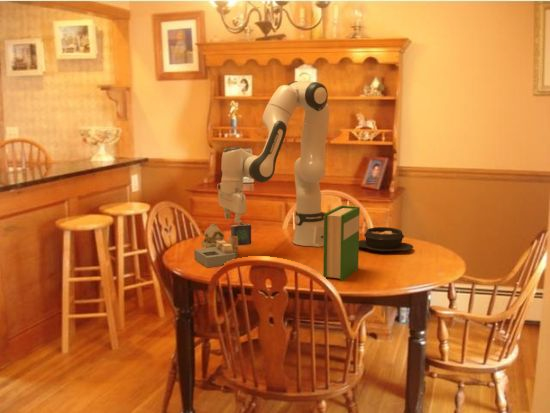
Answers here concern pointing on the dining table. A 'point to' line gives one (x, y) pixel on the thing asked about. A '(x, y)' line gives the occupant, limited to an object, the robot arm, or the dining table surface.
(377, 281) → the dining table surface
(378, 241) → the casserole
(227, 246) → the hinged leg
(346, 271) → the hardback book
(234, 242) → the loose leg
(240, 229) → the flask
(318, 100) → the robot arm
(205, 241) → the ceramic model
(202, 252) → the grey recessed block
